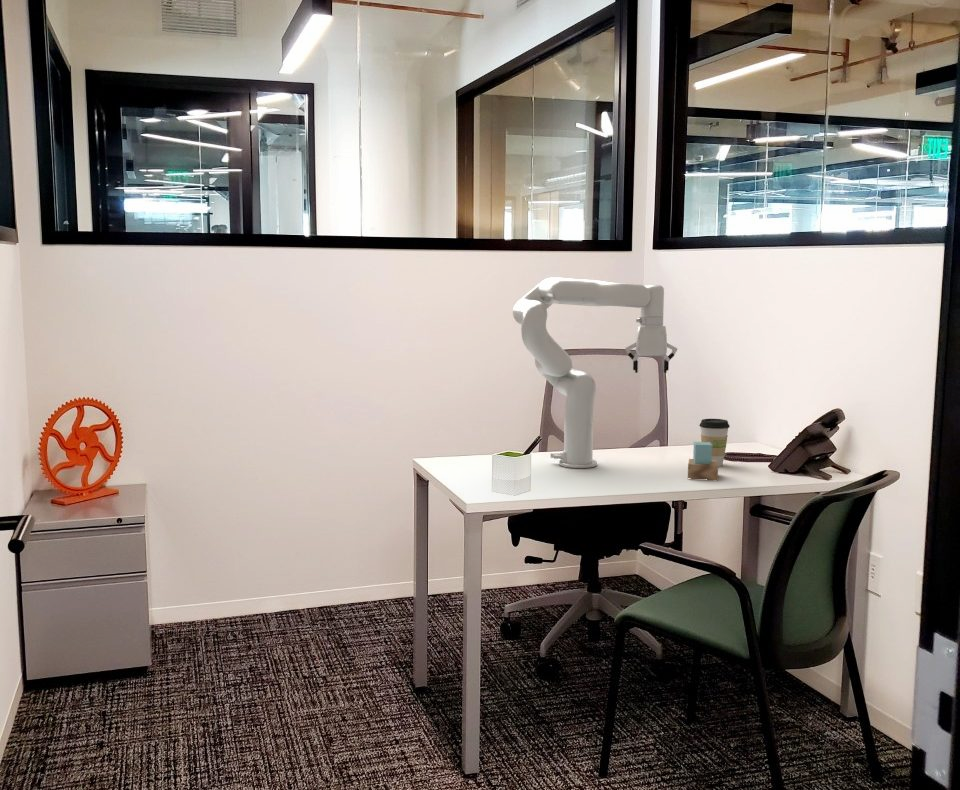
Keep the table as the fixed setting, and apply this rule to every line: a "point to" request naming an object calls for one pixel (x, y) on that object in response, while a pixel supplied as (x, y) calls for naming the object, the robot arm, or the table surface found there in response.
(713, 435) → the coffee cup
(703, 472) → the walnut box
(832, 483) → the table surface
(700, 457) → the teal block
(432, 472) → the table surface
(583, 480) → the table surface
